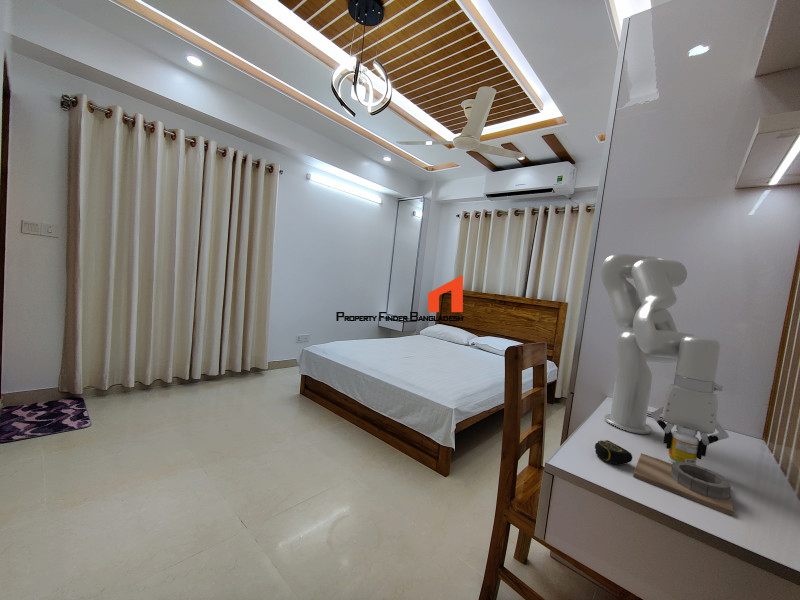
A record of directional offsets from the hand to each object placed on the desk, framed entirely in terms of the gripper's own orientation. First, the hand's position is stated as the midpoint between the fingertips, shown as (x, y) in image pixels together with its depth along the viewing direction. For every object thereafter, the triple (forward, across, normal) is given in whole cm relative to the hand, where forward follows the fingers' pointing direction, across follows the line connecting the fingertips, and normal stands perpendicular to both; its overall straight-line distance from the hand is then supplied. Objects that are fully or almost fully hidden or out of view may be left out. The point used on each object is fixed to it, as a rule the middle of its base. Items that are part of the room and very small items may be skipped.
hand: (683, 451), depth 82 cm
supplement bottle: (+3, 0, 0) cm, 3 cm away
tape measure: (+3, +13, +14) cm, 20 cm away
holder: (+3, 0, +13) cm, 13 cm away
